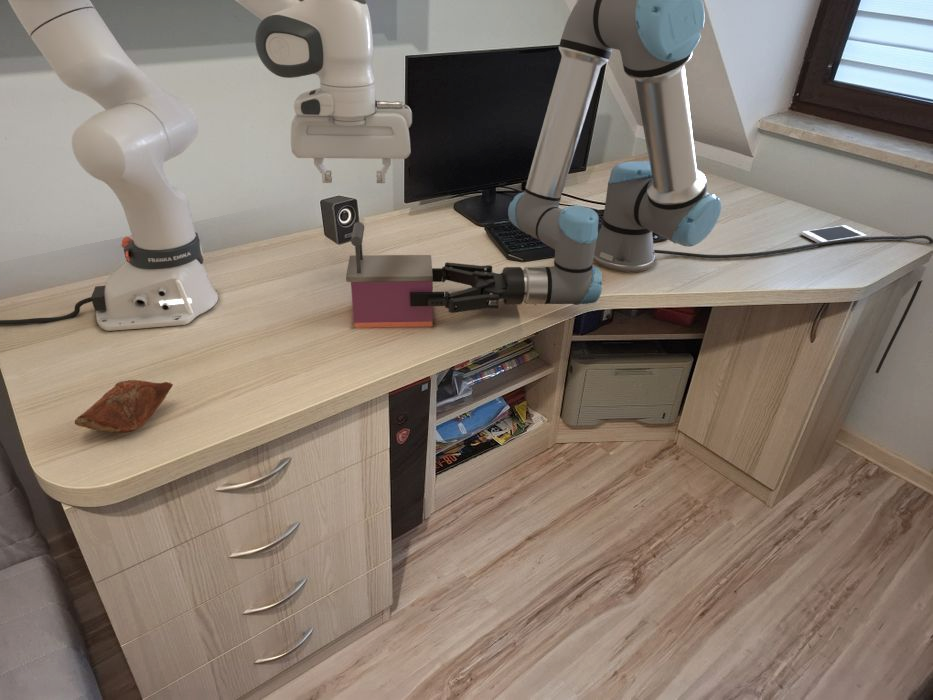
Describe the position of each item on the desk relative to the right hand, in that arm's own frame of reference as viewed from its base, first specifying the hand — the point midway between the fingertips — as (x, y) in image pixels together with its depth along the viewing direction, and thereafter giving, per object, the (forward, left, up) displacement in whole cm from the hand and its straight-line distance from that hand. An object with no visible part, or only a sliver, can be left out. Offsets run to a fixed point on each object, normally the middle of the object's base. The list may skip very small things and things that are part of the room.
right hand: (410, 286), depth 126 cm
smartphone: (-118, +13, -6) cm, 119 cm away
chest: (+3, -1, -6) cm, 7 cm away
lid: (+3, -2, +4) cm, 5 cm away
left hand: (+9, -4, +21) cm, 23 cm away
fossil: (+53, +11, -6) cm, 54 cm away
